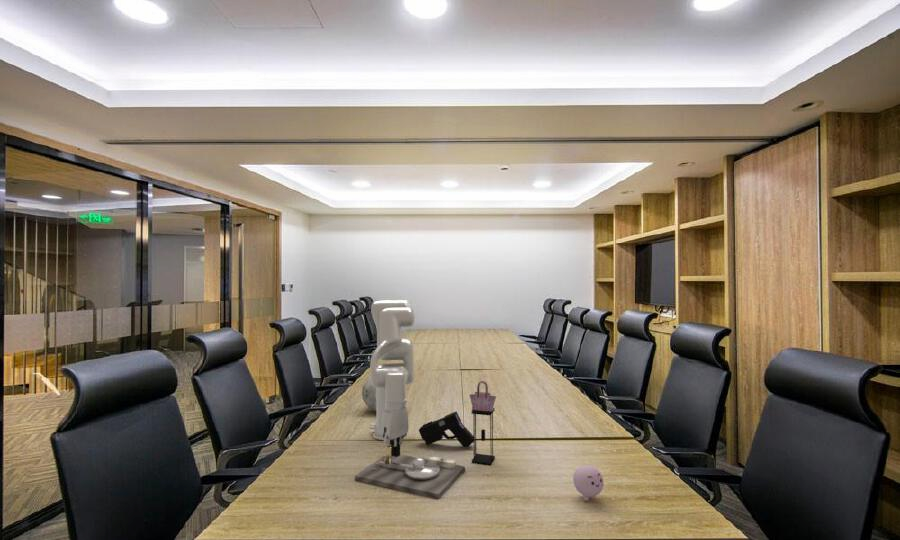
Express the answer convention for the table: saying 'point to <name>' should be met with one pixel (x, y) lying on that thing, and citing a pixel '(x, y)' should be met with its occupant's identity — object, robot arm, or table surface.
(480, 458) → the handbag
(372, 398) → the decorative sphere
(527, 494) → the table surface
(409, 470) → the crank handle
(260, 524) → the table surface
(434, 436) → the toy
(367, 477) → the level board
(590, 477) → the toy
